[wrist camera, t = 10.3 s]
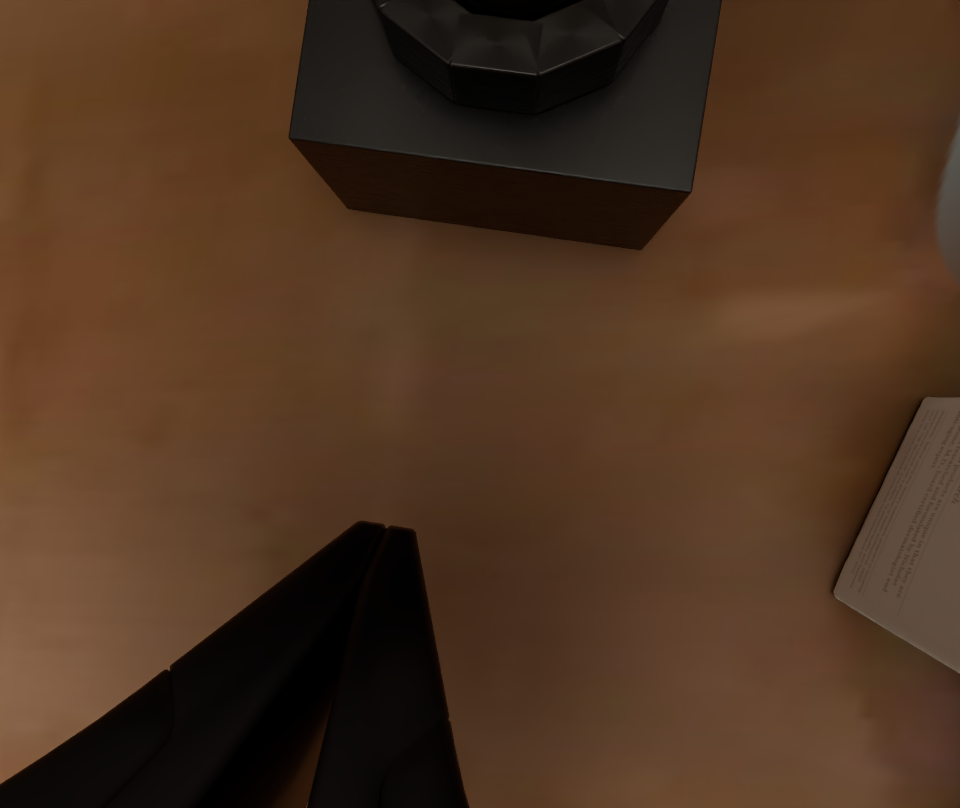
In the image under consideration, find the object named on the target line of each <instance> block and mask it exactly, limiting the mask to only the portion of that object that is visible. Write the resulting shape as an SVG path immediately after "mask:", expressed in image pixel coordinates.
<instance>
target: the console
mask: <svg viewBox="0 0 960 808" xmlns="http://www.w3.org/2000/svg"><path fill="white" fill-rule="evenodd" d="M721 2H722V0H567V1H566V2H564V3H562V4H560V5H558V6H556V7H553V8H550V9H547V10H544V11H541V12H536V13H531V14H520V15H512V14H501V13H496V12H491V11H488V10H485V9H482V8H479V7H477V6H475V5H473V4H471V3H469V2H467V1H466V0H309V3H308V10H307V17H306V23H305V30H304V37H303V43H302V50H301V57H300V63H299V70H298V77H297V84H296V90H295V97H294V104H293V110H292V117H291V124H290V131H289V139H290V140H291V142H292V143H293V144H294V145H295V146H296V147H297V149H298V150H299V151H300V152H301V153H302V155H303V156H304V157H305V158H306V159H307V161H308V162H309V163H310V164H311V165H312V167H313V168H314V169H315V170H316V171H317V173H318V174H319V175H320V176H321V177H322V178H323V180H324V181H325V182H326V183H327V184H328V186H329V187H330V188H331V189H332V190H333V192H334V193H335V194H336V195H337V196H338V198H339V199H340V200H341V201H342V202H343V204H344V205H345V206H346V207H347V208H348V209H353V210H360V211H367V212H374V213H381V214H388V215H396V216H403V217H410V218H417V219H424V220H431V221H438V222H445V223H452V224H460V225H467V226H474V227H481V228H488V229H495V230H502V231H509V232H516V233H524V234H531V235H538V236H545V237H552V238H559V239H566V240H573V241H581V242H588V243H595V244H602V245H609V246H616V247H623V248H630V249H637V250H642V249H643V248H644V246H645V245H646V244H647V243H648V242H649V241H650V240H651V238H652V237H653V236H654V235H655V234H656V233H657V232H658V230H659V229H660V228H661V227H662V226H663V225H664V223H665V222H666V221H667V220H668V219H669V218H670V217H671V215H672V214H673V213H674V212H675V211H676V210H677V209H678V207H679V206H680V205H681V204H682V203H683V202H684V200H685V199H686V198H687V197H688V196H689V195H690V194H691V192H692V188H693V181H694V175H695V168H696V162H697V156H698V149H699V143H700V137H701V130H702V124H703V117H704V111H705V105H706V98H707V92H708V85H709V79H710V73H711V66H712V60H713V53H714V47H715V41H716V34H717V28H718V22H719V15H720V9H721Z"/></svg>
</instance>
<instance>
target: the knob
mask: <svg viewBox="0 0 960 808" xmlns="http://www.w3.org/2000/svg"><path fill="white" fill-rule="evenodd" d="M466 1H467V2H469V3H471V4H473V5H475V6H477V7H479V8H482V9H485V10H488V11H491V12H496V13H501V14H512V15H520V14H531V13H536V12H541V11H544V10H547V9H550V8H553V7H556V6H558V5H560V4H562V3H564V2H566V1H567V0H466Z"/></svg>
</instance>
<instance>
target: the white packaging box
mask: <svg viewBox="0 0 960 808" xmlns="http://www.w3.org/2000/svg"><path fill="white" fill-rule="evenodd" d="M834 596H835V597H836V599H838V600H839V601H841V602H842V603H844V604H846V605H847V606H849V607H850V608H852V609H854V610H855V611H857V612H859V613H860V614H862V615H863V616H865V617H867V618H868V619H870V620H872V621H873V622H875V623H877V624H878V625H880V626H881V627H883V628H885V629H886V630H888V631H890V632H891V633H893V634H895V635H896V636H898V637H900V638H902V639H903V640H905V641H907V642H908V643H910V644H912V645H913V646H915V647H916V648H918V649H920V650H921V651H923V652H925V653H926V654H928V655H930V656H931V657H933V658H935V659H936V660H938V661H940V662H941V663H943V664H945V665H946V666H948V667H949V668H951V669H953V670H954V671H956V672H958V673H960V398H934V397H926V398H924V400H923V401H922V404H921V406H920V407H919V409H918V411H917V413H916V415H915V417H914V420H913V422H912V424H911V426H910V428H909V429H908V431H907V434H906V436H905V438H904V440H903V442H902V444H901V446H900V449H899V451H898V453H897V455H896V457H895V460H894V462H893V463H892V465H891V467H890V469H889V471H888V473H887V476H886V478H885V480H884V482H883V484H882V487H881V489H880V491H879V493H878V495H877V497H876V499H875V501H874V503H873V505H872V507H871V509H870V511H869V514H868V516H867V518H866V520H865V522H864V525H863V527H862V529H861V531H860V533H859V535H858V537H857V539H856V541H855V543H854V546H853V548H852V550H851V552H850V555H849V557H848V559H847V560H846V562H845V564H844V567H843V569H842V571H841V573H840V576H839V579H838V581H837V584H836V586H835V589H834Z"/></svg>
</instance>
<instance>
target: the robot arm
mask: <svg viewBox="0 0 960 808" xmlns="http://www.w3.org/2000/svg"><path fill="white" fill-rule="evenodd" d="M307 804H308V805H307ZM306 806H307V808H469V804H468V801H467V797H466V794H465V790H464V786H463V781H462V777H461V772H460V768H459V763H458V759H457V754H456V749H455V744H454V739H453V733H452V728H451V722H450V721H449V713H448V707H447V702H446V696H445V691H444V685H443V679H442V674H441V668H440V663H439V657H438V652H437V646H436V641H435V635H434V630H433V624H432V619H431V613H430V608H429V602H428V597H427V591H426V586H425V580H424V574H423V569H422V563H421V558H420V552H419V547H418V541H417V536H416V532H415V530H413V529H411V528H405V527H399V526H393V525H392V526H389V527H387V528H386V526H385V525H384V524H381V523H374V522H368V521H358V522H356V523H355V524H354V525H352V526H351V527H350V528H348V529H347V530H346V531H344V532H343V533H342V534H341V535H339V536H338V537H337V538H335V539H334V540H333V541H331V542H330V543H329V544H328V545H326V546H325V547H324V548H322V549H321V550H320V551H318V552H317V553H316V554H315V555H313V556H312V557H311V558H309V559H308V560H307V561H305V562H304V563H303V564H302V565H300V566H299V567H298V568H296V569H295V570H294V571H292V572H291V573H290V574H289V575H287V576H286V577H285V578H283V579H282V580H281V581H279V582H278V583H277V584H276V585H274V586H273V587H272V588H270V589H269V590H268V591H267V592H265V593H264V594H263V595H261V596H260V597H259V598H257V599H256V600H255V601H254V602H252V603H251V604H250V605H248V606H247V607H246V608H244V609H243V610H242V611H241V612H239V613H238V614H237V615H235V616H234V617H233V618H231V619H230V620H229V621H228V622H226V623H225V624H224V625H222V626H221V627H220V628H218V629H217V630H216V631H215V632H213V633H212V634H211V635H209V636H208V637H207V638H205V639H204V640H203V641H202V642H200V643H199V644H198V645H196V646H195V647H194V648H192V649H191V650H190V651H189V652H187V653H186V654H185V655H183V656H182V657H181V658H179V659H178V660H177V661H176V662H174V663H173V664H172V665H171V666H170V671H169V670H164V671H162V672H161V673H160V674H158V675H157V676H156V677H154V678H153V679H152V680H151V681H149V682H148V683H147V684H145V685H144V686H143V687H141V688H140V689H139V690H137V691H136V692H135V693H133V694H132V695H131V696H129V697H128V698H127V699H125V700H124V701H122V702H121V703H120V704H118V705H117V706H116V707H114V708H113V709H112V710H110V711H109V712H107V713H106V714H105V715H103V716H102V717H101V718H99V719H98V720H97V721H95V722H94V723H92V724H91V725H89V726H88V727H86V728H85V729H83V730H82V731H80V732H79V733H77V734H76V735H74V736H73V737H71V738H70V739H68V740H67V741H65V742H64V743H63V744H61V745H60V746H58V747H57V748H55V749H54V750H52V751H51V752H49V753H48V754H46V755H45V756H43V757H42V758H40V759H38V760H37V761H35V762H34V763H32V764H31V765H29V766H28V767H26V768H25V769H23V770H21V771H20V772H18V773H17V774H15V775H14V776H12V777H11V778H9V779H8V780H6V781H4V782H3V783H1V784H0V808H306Z"/></svg>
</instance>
